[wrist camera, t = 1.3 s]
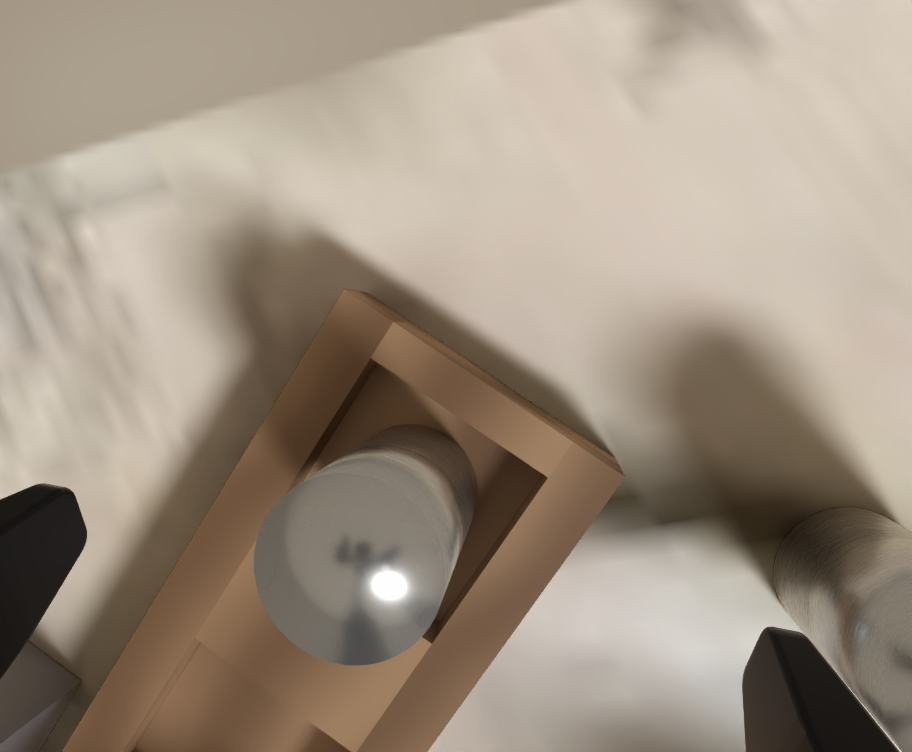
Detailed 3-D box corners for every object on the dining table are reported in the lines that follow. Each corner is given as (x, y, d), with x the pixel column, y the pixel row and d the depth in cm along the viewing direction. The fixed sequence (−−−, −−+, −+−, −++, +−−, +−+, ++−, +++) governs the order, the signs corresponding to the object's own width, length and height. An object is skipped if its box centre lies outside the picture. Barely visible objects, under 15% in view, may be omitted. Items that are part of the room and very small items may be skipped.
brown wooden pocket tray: (615, 459, 21) (625, 476, 19) (306, 892, 24) (279, 957, 22) (366, 292, 22) (344, 289, 20) (94, 733, 25) (44, 778, 22)
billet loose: (952, 559, 20) (1162, 683, 13) (862, 667, 21) (1019, 838, 14) (829, 480, 21) (972, 559, 14) (745, 588, 21) (841, 717, 14)
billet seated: (504, 474, 21) (483, 549, 14) (430, 581, 22) (376, 703, 15) (391, 398, 21) (317, 434, 14) (323, 505, 22) (219, 590, 15)
